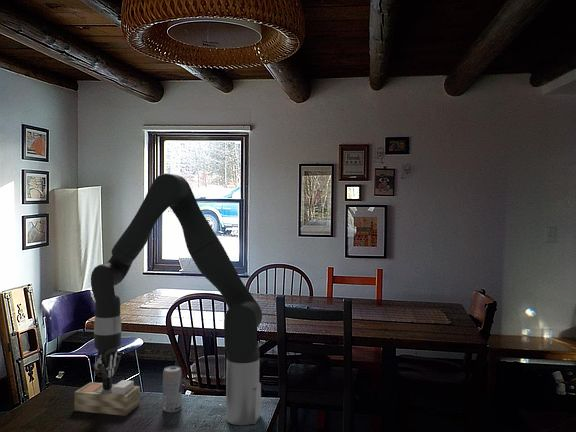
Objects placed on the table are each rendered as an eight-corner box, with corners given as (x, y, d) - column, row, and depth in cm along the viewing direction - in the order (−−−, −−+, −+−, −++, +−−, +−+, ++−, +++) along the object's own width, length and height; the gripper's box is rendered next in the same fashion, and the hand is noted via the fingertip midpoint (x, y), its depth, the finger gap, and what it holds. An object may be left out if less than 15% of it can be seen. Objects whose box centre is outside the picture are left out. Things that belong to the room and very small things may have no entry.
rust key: (102, 394, 152) (102, 384, 152) (92, 401, 147) (92, 391, 146) (92, 393, 153) (92, 383, 153) (81, 400, 147) (81, 390, 147)
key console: (139, 404, 151) (139, 386, 151) (125, 415, 143) (126, 396, 143) (90, 399, 154) (90, 382, 154) (74, 410, 146) (74, 392, 146)
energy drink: (182, 405, 151) (183, 365, 151) (179, 412, 146) (179, 371, 145) (164, 405, 151) (165, 365, 151) (161, 412, 146) (161, 371, 145)
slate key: (118, 395, 151) (118, 385, 151) (108, 403, 146) (108, 392, 146) (107, 394, 152) (107, 384, 152) (96, 402, 146) (96, 391, 146)
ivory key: (133, 390, 150) (133, 380, 150) (124, 397, 145) (124, 387, 145) (122, 389, 151) (122, 379, 151) (112, 396, 145) (112, 386, 145)
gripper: (107, 337, 141) (107, 398, 141) (130, 326, 154) (130, 382, 154) (83, 335, 142) (82, 396, 143) (108, 324, 155) (107, 380, 156)
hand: (107, 388), depth 149 cm, fingers closed
